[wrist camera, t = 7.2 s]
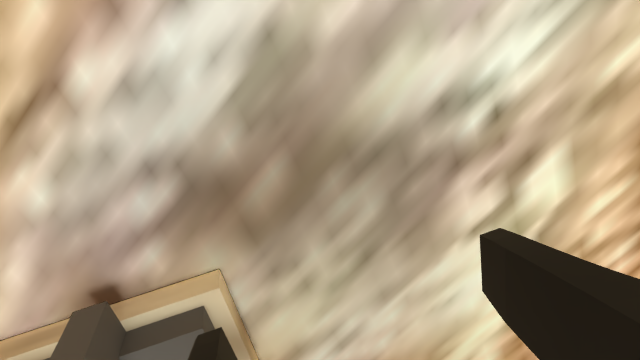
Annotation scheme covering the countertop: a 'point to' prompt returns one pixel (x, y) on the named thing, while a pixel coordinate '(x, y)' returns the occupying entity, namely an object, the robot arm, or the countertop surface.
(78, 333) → the dark grey frame stand
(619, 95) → the countertop surface
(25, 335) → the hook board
